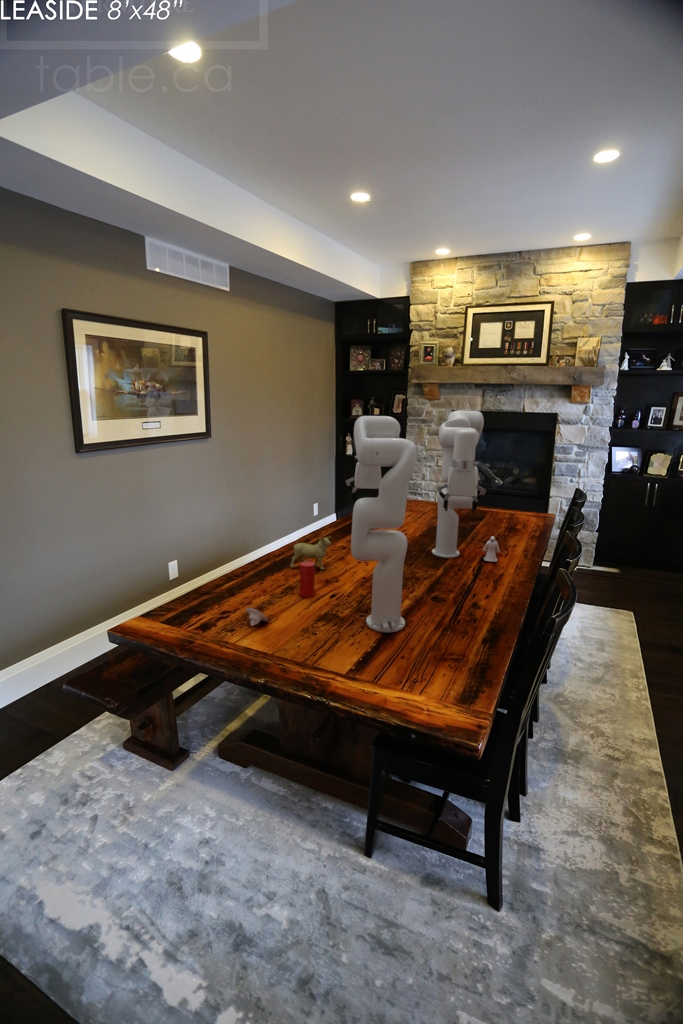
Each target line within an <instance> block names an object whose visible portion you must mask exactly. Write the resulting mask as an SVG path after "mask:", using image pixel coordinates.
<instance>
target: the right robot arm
mask: <svg viewBox="0 0 683 1024" xmlns="http://www.w3.org/2000/svg"><path fill="white" fill-rule="evenodd" d="M484 422H485V419H484V416H483V413H482V412H481V411H479V410H467V409H466V410H464V409H463V410H462V409H461V410H459V409H458V410H453V411H452V412H450V413H449V415H448V417H447V420H446V421H444V422H443V423H441V424H440V426H439V428H438V432H437V433H438V441H439V445H440V447H441V451H442V461H441V481H442V482H443V483H444V484H442V485H440V486H437V487H436V490H437V493H436V501H437V521H436V522H437V524H436V534H435V535H436V537H435V547H434V548H432V549H431V554H432V555H433V556H436V557H439V558H443V559H453V558H458V557H459V556H460V551H459V550H457V548H458V547H457V546H458V536H459V535H458V534H459V522H460V518H459V515H458V513H457V512H456V511H455V509H459V510H471V513H473V514H475V511H477V509H478V508H477V507H478V502H479V501H481V500H482V498H483V497H484V496H485V494H486V493H487V490H486V489H485V488H483V487H482V486H480V485H478V484H479V469H478V467H479V461H475V459H476V449H477V448H476V447H477V445H478V444H479V440H480V438H481V434H482V432H483V428H484ZM478 491H479V492H480V493H479V494H478Z"/></svg>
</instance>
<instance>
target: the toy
mask: <svg viewBox="0 0 683 1024" xmlns="http://www.w3.org/2000/svg"><path fill="white" fill-rule="evenodd" d="M331 538H332V535H328V536H326V537H320V538H319V540H318V542H317V543H316V544H310V543H306V542H299V543H298V542H297V543H296V544H294V545H293V547H292V548H293V553H294V556H292V557H291V563H290V569H295V565H294V564H295V562H296V561H297V560H300V561H301V562H305V561H306V559H309V560H311V559H314V562H313V563H314V564H315V567H318V565H319V568H320V571H325V568H324V566H323V559H324V558H325V557H326V556H327V551H328V546H329V547H330V546H331V545H332V542H331V541H330V539H331ZM304 558H305V559H304Z"/></svg>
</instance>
